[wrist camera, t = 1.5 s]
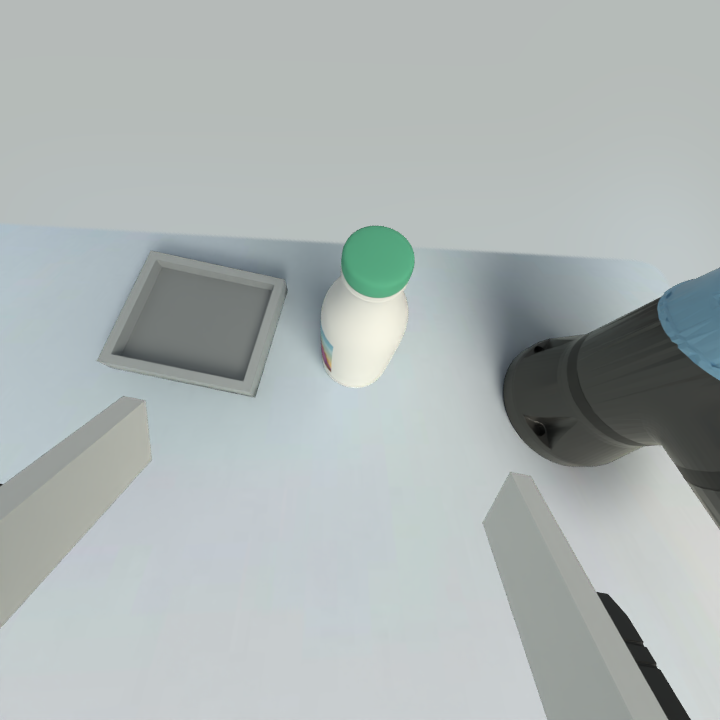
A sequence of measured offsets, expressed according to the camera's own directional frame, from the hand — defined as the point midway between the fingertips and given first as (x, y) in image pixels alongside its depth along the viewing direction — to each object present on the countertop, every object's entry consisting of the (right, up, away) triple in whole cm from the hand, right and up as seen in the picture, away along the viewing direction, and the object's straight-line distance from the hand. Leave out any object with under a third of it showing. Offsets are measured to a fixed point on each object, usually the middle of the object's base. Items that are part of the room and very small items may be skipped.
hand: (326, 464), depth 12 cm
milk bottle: (+1, +4, +27) cm, 27 cm away
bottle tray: (-17, +8, +26) cm, 32 cm away
